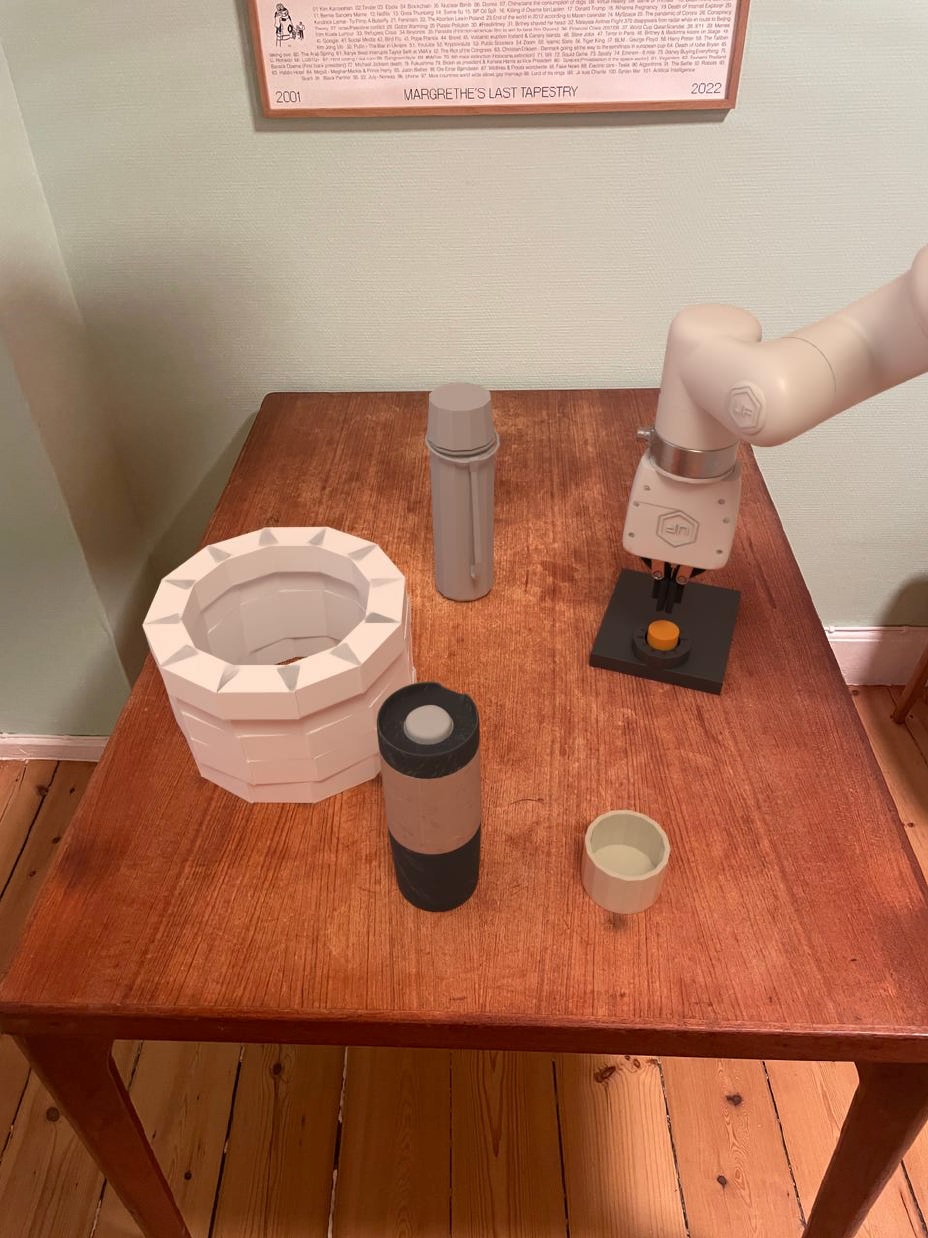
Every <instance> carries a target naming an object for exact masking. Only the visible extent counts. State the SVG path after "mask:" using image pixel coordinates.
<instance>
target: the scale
mask: <svg viewBox="0 0 928 1238" xmlns="http://www.w3.org/2000/svg"><path fill="white" fill-rule="evenodd" d="M654 580H655V578H653V576H652V572H651V573H650V572H645V571H640V570H636V569H630V568H624V567H622V568H621V571H620V573H619V576H618V578H617V581H616V584H615V586H614V589H613V592H612V594H611V596H610V600H609V602H608V605H607V608H606V610H605V613H604V616H603V619H602V621H601V624H600V627H599V630H598V631H597V635H596V638H595V640H594V643H593V646H592V648H591V651H590V655H589V664H588V665H589V667H594V668H598V669H602V670H607V671H611V672H614V673H620V674H624V675H628V676H633V677H638V678H642V679H647V680H651V681H655V682H660V683H664V684H668V685H672V686H677V687H682V688H684V689H685V688H686V689H690V690H695V691H699V692H702V693H703V692H704V693H709V694H712V695H717V696H721V694H722V689H723V686H724V682H725V675H726V671H727V666H728V660H729V657H730V656H729V655H730V652H731V651H730V649H731V645H732V641H733V636H734V630H735V626H736V620H737V616H738V612H739V611H738V610H739V605H740V601H741V595H742V590H737V589H731V588H727V587H721V586H717V585H711V584H706V583H701V582H696V581H691V580H688V582H687V583H686V584H685V588H684V593H683V598H682V602H681V604H678V603H674V606H673V610H672V613H671V614H668V613H666V612H665V606H666V603H665V606H664V609H663V611H661V612H659V611H656V606H657V601H658V599H654V598H652V592H653V586H654ZM666 600H667V599H666ZM659 620H664V621H669V622H672V623H673V624H675V625H676V626H677V627H678V629H679V637H678V642H677V645H676V647H675V648H673V649H671V650H666V651H663V650H659V649H655V648H653V647H651V646H650V645H649V644H648V642H647V635H648V629H649V626H650V624H651V623H653V622H655V621H659Z"/></svg>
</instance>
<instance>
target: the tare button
mask: <svg viewBox="0 0 928 1238" xmlns="http://www.w3.org/2000/svg"><path fill="white" fill-rule="evenodd" d="M678 637H679V629H678V627H677V626H676V625H675V624H673V623H672V622H669V621H664V620H659V621H655V622H653V623H651V624H650V626H649V629H648V635H647V642H648V644H649V645H650V646H651V647H653V648H655V649H659V650H663V651H666V650H671V649H673V648H675V647H676V645H677V642H678Z"/></svg>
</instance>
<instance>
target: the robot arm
mask: <svg viewBox="0 0 928 1238" xmlns="http://www.w3.org/2000/svg"><path fill="white" fill-rule="evenodd" d="M762 340H763V329H762V326H761V323H760V321H759V319H758V318H757V317H756V316H755V315H754V314H752V312H750V311H749V310H746V309H745V308H742V307H739V306H737V305H736V306H735V305H731V304H726V303H719V302H717V303H716V302H712V303H711V302H707V303H698V304H694V305H689V306H688V307H685V308H683V309H682V310H680V311H679V312H678V313H676V315H675V316H674V317H673V318H672V320H671V323H670V324H669V328H668V332H667V338H666V344H665V345H666V346H665V352H664V359H663V366H662V373H661V379H660V387H659V388H660V389H659V392H658V393H659V394H658V400H657V407H656V415H655V421H654V423H652V425H651V426H647V427H643V426H639V427H638V428H637V433H636V439H635V441H636V442H638V443H643V445H646V446H647V449H646V450H645V451H644V453H643V454H642V456H641V458H640V460H639V462H638V466H637V468H636V472H635V474H634V477H633V482H632V485H631V490H630V495H629V498H628V499H629V500H628V504H627V508H626V514H625V519H624V524H623V525H624V526H623V532H622V541H621V543H620V546H619V547H620V548H619V549H620V550H621V551H622V552H624V553H627V554H629V555H631V556H634V557H635V558H636V557H638V558H640V560H641V561H642V562H643V563H644V564H645V565H646V567H648V569H649V570H650V571H651V574H652V576H653V578H655V580H654V586H653V592H652V598H654V599H658V601H657V606H656V611H659V612H661V611H663V609H664V606H665V603H666V606H665V612H666V613H668V614H671V613H672V610H673V606H674V603H678V604H681V602H682V598H683V593H684V588H685V584H686V583H687V582H688V581H690V580H691V579H693V578H695V577H697V576H699V575H700V574H703V573H705V572H706V571H709V572H728V571H729V570H730V568H731V563H732V553H731V552H732V548H733V543H734V539H735V533H736V529H737V523H738V519H739V510H740V504H741V495H742V465H741V461H740V460H739V459H738V458H737V456H738V451H739V446H740V443H741V442H740V441H743V442H745V443H747V444H749V445H752V446H754V447H759V448H773V447H778V446H781V445H784V444H786V443H788V442H790V441H792V440H794V439H795V438H798V437H799V436H802V435H803V434H805V433H807V432H809V431H810V430H812V429H814V428H816V427H817V426H818V425H820V424H822V423H824V422H826V421H828V420H829V419H832V418H833V417H835V416H837V415H839V414H841V413H843V412H846V411H847V410H849V409H851V408H853V407H854V406H857V405H859V404H861V403H862V402H865V401H867V400H869V399H870V398H873V397H875V396H877V395H879V394H881V393H883V392H885V391H888V390H891V389H893V388H895V387H897V386H899V385H901V384H904V383H906V382H908V381H910V380H913V379H915V378H917V377H920V376H922V375H925V374H927V373H928V243H926V244H925V245H923V246H922V247H921V248H920V249H919V250H918V251H917V252H916V254H915V256H914V258H913V260H912V262H911V266H910V268H909V269H908V270H906V271H905V272H904V273H902V274H900V275H898V276H897V277H896V278H894V279H892V280H890V281H889V282H887V283H885V284H883V285H882V286H880V287H879V288H877V289H875V290H873V291H871V292H869V293H868V294H866V295H864V296H862V297H860V298H859V299H857V300H855V301H854V302H851V303H849V304H848V305H846V306H845V307H842V308H841V309H838V310H837V311H835V312H833V313H831V314H829V315H827V316H825V317H823V318H821V319H819V320H817V321H815V322H812V323H810V324H808V325H805V326H802V327H800V328H798V329H796V330H793V331H792V332H789V333H787V334H785V335H782V336H781V337H779V338H775V339H770V340H763V341H762ZM672 564H674V565H676V566H675V567H674V568H673V567H672ZM666 599H667V600H666Z"/></svg>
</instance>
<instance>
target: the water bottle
mask: <svg viewBox="0 0 928 1238" xmlns="http://www.w3.org/2000/svg"><path fill="white" fill-rule="evenodd" d="M427 408H428V410H427V427H426V428H427V429H426V433H425V439H424V443H425V445H426V446H427V449H428V450H429V463H430V464H429V465H430V466H429V468H430V487H431V489H430V491H431V509H432V510H431V511H432V529H433V530H432V531H433V550H434V551H433V553H434V572H435V573H434V574H435V576H434V577H435V589H437V590H438V591H439V593H441V595H443V596H444V597H445V598H446V599H449V600H452V601H455V602H460V603H461V602H473V601H476V600H478V599H480V598H483V597H485V596H486V595H487V594H488V593H489V592H490V590H491V589H492V588H493V587H494V585H495V584H494V583H495V581H494V578H495V576H494V575H495V574H494V573H495V572H494V571H495V567H494V566H495V563H494V561H495V557H494V556H495V482H494V456H495V455H496V453H497V451H498V449H499V448H500V446H501V442H500V441H501V439H500V435H499V433H498V432H497V430H496V428H495V425H494V416H493V405H492V396H491V391H489V390H488V389H487V388H486V387H484V386H483V385H480V384H475V383H471V382H450V383H446V384H443V385H440V386H437V387H435V388H434V389H433V390H432V391H431V392H429V395H428V407H427ZM495 442H496V443H495Z"/></svg>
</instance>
